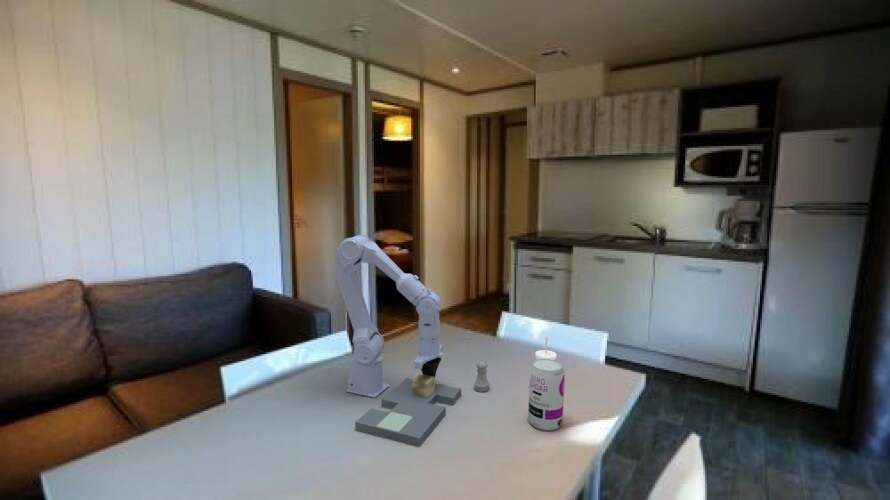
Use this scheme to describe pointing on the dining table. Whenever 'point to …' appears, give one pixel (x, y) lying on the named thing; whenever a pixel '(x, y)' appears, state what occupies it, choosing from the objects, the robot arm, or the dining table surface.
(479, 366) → the rook chess piece
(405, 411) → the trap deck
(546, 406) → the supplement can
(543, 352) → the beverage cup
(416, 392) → the oak block
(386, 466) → the dining table surface
